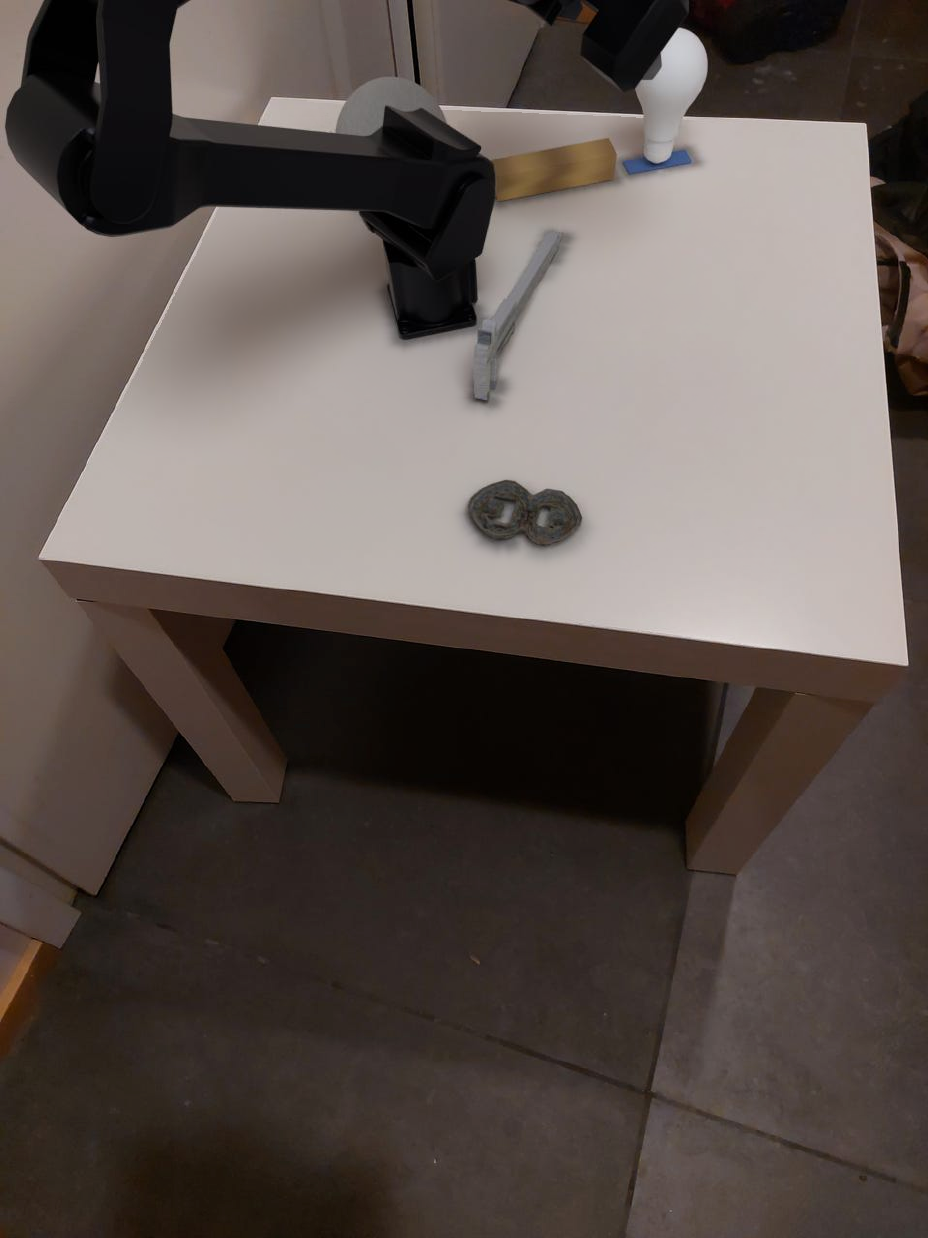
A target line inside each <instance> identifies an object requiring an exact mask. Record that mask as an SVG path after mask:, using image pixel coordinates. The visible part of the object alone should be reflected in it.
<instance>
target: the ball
mask: <svg viewBox="0 0 928 1238" xmlns="http://www.w3.org/2000/svg"><path fill="white" fill-rule="evenodd" d="M386 105H388V106H391V107H394V108H396V109H399V110H401V111H405V112H406V111H415V110H417V109H419V108H423V109H425V110H426V111H428V112H429V113H431V114H433V115H434V116H436V117H437V118H439V119H440V120H442V121H443V122H445V123H446V124H448V122H447V119H446V117H445V114H444V112H443V110H442V108H441V106H440V104H439V103H438V102H437V100H436V99H435V98H434V97H433V95H432V94H430V92H428V91H427V90H426V89H425V88H424V87H422V86H421V85H420V84H418V83H416V82H414V81H412V80H410V79H407V78H404V77H399V76H382V77H377V78H373V79H372V80H369V81H367V82H365V83H363V84H362V85H361V86H359V87H357V88H356V89H355V90H354V91H353V92H352V93H351V94H350V95H349V96H348V97H347V99H346V100H345V102H344V104H343V105H342V108H341V110H340V112H339V115H338V117H337V121H336V125H335V132H334V133H339V134H349V135H358V136H368V135H371V134H372V133H374V132H375V131H376V130H378V129H379V128H380V127H381V126H383V118H384V108H385V106H386Z"/></svg>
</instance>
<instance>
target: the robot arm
mask: <svg viewBox="0 0 928 1238" xmlns="http://www.w3.org/2000/svg"><path fill="white" fill-rule="evenodd" d="M190 1H191V0H42V3H41V5H40V7H39V9H38V12H37V14H36V16H35V18H34V20H33V22H32V24H31V26H30V29H29V31H28V35H27V39H26V45H25V52H24V60H23V67H22V74H21V82H20V87H19V88H18V89H17V90H16V91H15V92H14V93H13V96H12V97H11V100H10V101H9V103H8V106H7V108H6V112H5V113H6V114H5V121H4V122H5V123H4V131H5V135H6V141H7V147H8V149H10V151H11V153H12V155H13V157H14V159H15V160H16V163H18V165H19V166H20V167H21V168H22V169H23V170H24V171H25V172H26V173H27V174H28V175H29V176H30V177H31V178H32V179H33V180H34V181H35V182H36V183H37V184H38V185H39V186H40V187H41V188H42V189H44V191H45V192H47V194H49V195H50V197H51V198H52V199H54V200H55V201H56V202H57V203H58V204H59V205H60V206H61V208H63V209H64V210H65V211H66V212H67V213H68V215H70V216H71V217H72V218H73V219H74V220H75V221H76V222H77V223H78V224H79V225H80V226H82V227H84V229H86V231H89V232H91V233H93V234H95V235H98V236H103V237H108V238H117V237H126V236H131V235H137V234H143V233H149V232H154V231H160V230H166V229H170V228H172V227H174V226H176V225H177V224H179V223H180V222H181V221H183V220H185V219H186V218H187V217H189V216H190V215H191V214H193V213H195V212H196V211H197V210H200V209H204V208H210V207H211V208H241V209H242V208H243V209H244V208H245V209H246V208H247V209H279V210H312V211H313V210H314V211H315V210H316V211H344V212H345V211H347V212H349V211H350V212H351V211H352V212H358V215H359V218H360V219H361V220H362V222H363V224H364V225H365V227H366V228H367V230H368V231H369V232H371V234H375V235H376V236H378V237H379V238H380V239H381V240H382V246H383V247H382V248H383V254H384V259H385V265H386V273H387V280H388V283H387V284H386V288H387V293H388V297H389V301H390V306H391V308H392V313H393V316H394V321H395V324H396V327H397V332H398V336H399V337H400V338H401V339H403V340H407V339H411V338H417V337H421V336H426V335H432V334H436V333H440V332H441V333H442V332H446V331H452V330H457V329H463V328H467V327H472V326H474V325H476V324H477V322H478V318H477V317H478V315H477V314H476V310H475V308H474V304H477V302H478V301H479V296H478V276H477V261H476V259H477V258H479V257H481V256H482V254H483V252H484V248H485V244H486V240H487V235H488V232H489V231H488V230H489V227H490V223H491V219H492V214H493V210H494V206H495V201H496V196H495V171H494V164H493V163H492V162H491V159H489V158H488V157H487V156H485V155H483V154H482V153H481V151H482V149H483V147H482V146H481V145H480V144H478V143H477V142H475V141H474V140H472V139H471V138H470V137H468V136H467V135H465V134H464V133H462V132H460V131H458V130H457V129H456V128H455V127H453V126H451V125H450V124H448V123H447V124H446V123H445V122H443V121H442V120H440V119H439V118H437V117H436V116H434V115H433V114H431V113H429V112H428V111H426V110H425V109H423V108H419V109H417V110H415V111H406V112H405V111H401V110H399V109H396V108H394V107H391V106H388V105H386V106H385V108H384V118H383V126H381V127H380V128H379V129H378V130H376V131H375V132H374V133H372V134H371V135H368V136H358V135H349V134H339V133H335V132H328V131H320V130H319V131H318V130H310V129H299V128H291V127H283V126H282V127H281V126H272V125H271V126H270V125H262V124H252V123H243V122H233V121H224V120H215V119H205V118H196V117H194V118H193V117H185V116H182V115H181V116H180V115H178V114H175V113H173V112H174V111H173V110H174V109H173V87H172V67H171V65H172V64H171V40H172V36H173V30H174V26H175V21H176V16H177V13H178V9H180V8H181V7H183V6H184V5H186V4H187V3H189V2H190ZM507 1H509V2H511V3H515V4H518V5H521V6H523V7H526V8H527V9H528V10H529V11H530V12H532V13H533V14H534V15H535V16H536V17H538V18H539V19H541V20H542V21H543V22H545V23H546V24H547V25H548V26H550V27H553V25H554V24H555V22H556V21H557V19H558V17H559V18H561V19H565V20H569V21H572V22H575V21H576V20H577V19H578V18H579V16H580V15H581V13H582V12H583V9H584V6H583V4H584V5H585V6H586V7H588V8H589V9H590V10H591V11H593V12H594V13H595V15H594V16H593V17H592V19H591V21H590V22H589V24H588V25H587V27H586V28H585V29H584V31H583V33H582V37H581V46H580V51H579V56H581V58H582V59H583V60H584V61H585V62H586V64H588V66H589V67H591V68H592V69H593V70H594V71H595V72H597V74H598V75H600V76H601V77H602V78H603V79H605V80H606V81H607V82H609V83H610V84H611V85H612V86H613V87H615V88H616V89H618V90H619V91H620V92H621V93H622V94H625V93H629V92H632V91H634V90H635V88H636V87H637V86H638V84H639V83H640V81H641V80H653V79H654V77H655V76H656V75H657V73H658V72H659V70H660V69H661V67H662V61H661V52H662V50H663V49H664V48H665V46H666V45H667V43H668V42H669V40H670V39H671V38H672V36H673V35H674V33H675V32H676V31H677V29H678V28H680V26H682V24H683V22H684V21H685V19H686V18H687V17H688V15H689V13H690V12H689V11H690V10H689V9H690V7H689V5H690V0H507ZM97 71H98V73H99V82H96V77H97Z"/></svg>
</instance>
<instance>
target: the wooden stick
mask: <svg viewBox="0 0 928 1238" xmlns="http://www.w3.org/2000/svg"><path fill="white" fill-rule="evenodd" d="M617 156H618V153H617V151H616V149H615V147H614V144H612V141H611V140H610V138H609V137H606V138H605V137H604V138H601V139H595V140H590V141H584V142H580V143H574V144H567V145H563V146H557V147H553V148H546V149H540V150H536V151H531V152H525V153H520V154H515V155H510V156H504V157H499V158H492V159H490V161H491V162H492V163H493V164H494V171H495V199H496V201H497V202H504V201H508V200H513V199H514V200H515V199H520V198H525V197H530V196H535V195H541V194H545V193H551V192H556V191H561V190H566V189H572V188H577V187H583V186H588V185H593V184H599V183H603V182H608V181H613V180H614V179H615V175H616V164H617V158H618V157H617Z"/></svg>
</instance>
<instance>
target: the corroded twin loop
mask: <svg viewBox="0 0 928 1238" xmlns="http://www.w3.org/2000/svg"><path fill="white" fill-rule="evenodd" d="M504 500H506V501H509V502H515V501H516V502H515V505H514V508H513V512H512V515H511V516H512V517H511V519H510V521H509V522H506V523H505V522H501V521H494V520H492V519H495V518H496V517H501V516H502V514H503V511H504V509H505V501H504ZM542 507H544V508H546V509H549V510H550V512H549V516H548V521H547V526H548V527H547V526H541V525H539V524H538V523H537V522H538V519H539V516H540V513H541V508H542ZM467 508H468V512H469V515H470V516H471V519H472V520H473V521H474V523H475V524H476V525H477V526H478V528H479V529H480V530H481V531H482V532H484V533H485V534H486V535H487V536H488V537H490V538H491V539H493V540H498V539H501V540H502V539H504V540H509V539H511V538H513V537H514V536H515V535H517V534H518V533H522V532H524V533H525V534H526V536H527V537H528V538H529V539H530V540H531V542H533V543H535V544H536V545H538V546H547V545H550V544H557V543H558V542H560V541H562V540H565V539H567V538H569V537H571V535H572V534H573V533H574V532H575V531H576V530H577V529H578V528H579V527H580V526H581V524H582V522H583V516H582V513H581V511H580V508H579V506H578V504H577V503H576V502H575V501H574V499H573V498H572V497H571V496H570V495H568V494H566V493H565V492H564V491H562V490H559V489H552V488H545V489H542V490H541V491H539V492H537V493H533V494H532V493H530V492H529V490H528V489H527V488H525V487H524V486H523V485H522V484H520V483H519V482H517V481H516V480H511V479H503V480H500V481H497V482H493V483H490V484H488V485H486V486H483V487H482V488H481V489H479V490H478V491H477V492H475V493H474V494H473V495H472V496H471V497H470V499H469V501H468V504H467Z"/></svg>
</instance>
